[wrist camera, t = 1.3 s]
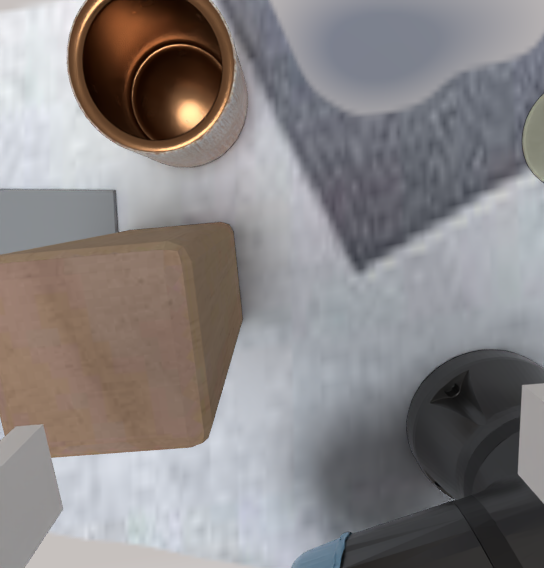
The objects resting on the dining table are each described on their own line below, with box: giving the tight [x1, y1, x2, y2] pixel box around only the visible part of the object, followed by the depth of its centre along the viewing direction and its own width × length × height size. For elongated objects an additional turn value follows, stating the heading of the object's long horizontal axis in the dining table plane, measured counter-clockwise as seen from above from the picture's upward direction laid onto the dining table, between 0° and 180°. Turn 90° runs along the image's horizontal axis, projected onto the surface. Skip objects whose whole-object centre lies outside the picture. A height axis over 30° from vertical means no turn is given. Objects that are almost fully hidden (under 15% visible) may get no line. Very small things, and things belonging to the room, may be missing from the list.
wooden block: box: [0, 222, 243, 458], centre depth 28 cm, size 10×10×20 cm
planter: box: [67, 0, 248, 167], centre depth 30 cm, size 11×11×10 cm
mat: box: [0, 190, 118, 255], centre depth 38 cm, size 20×16×1 cm
